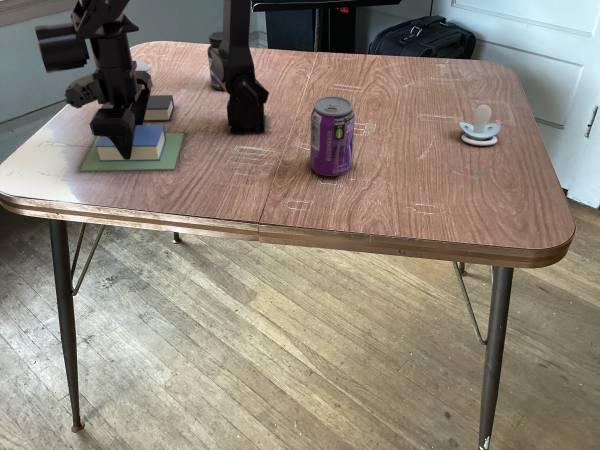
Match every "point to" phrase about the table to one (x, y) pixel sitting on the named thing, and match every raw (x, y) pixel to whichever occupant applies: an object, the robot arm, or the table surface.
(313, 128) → the beverage can
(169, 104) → the black notebook
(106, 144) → the blue book
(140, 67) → the frog figurine
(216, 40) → the pill bottle
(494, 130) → the pacifier
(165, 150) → the green mat
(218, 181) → the table surface
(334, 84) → the table surface
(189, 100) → the table surface
